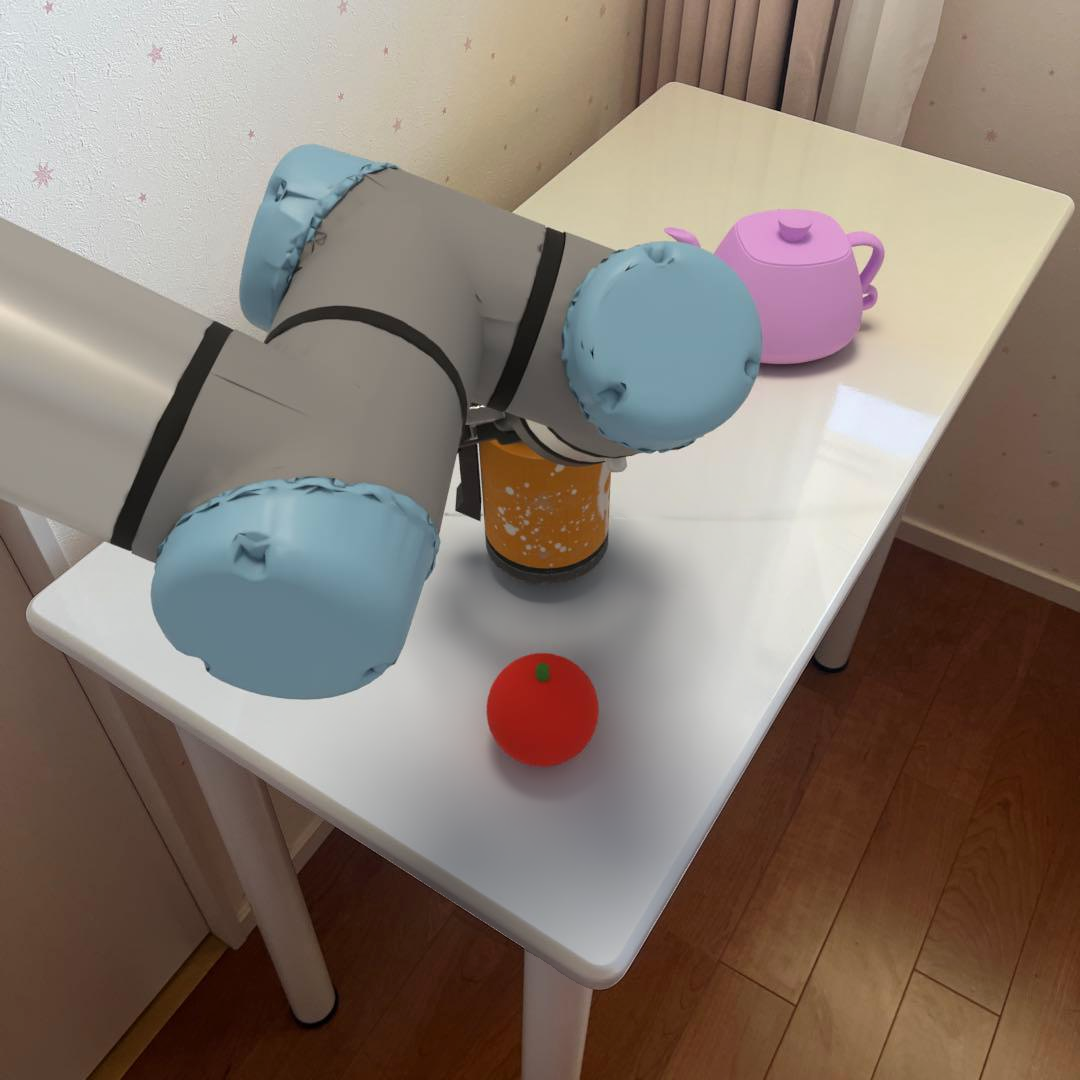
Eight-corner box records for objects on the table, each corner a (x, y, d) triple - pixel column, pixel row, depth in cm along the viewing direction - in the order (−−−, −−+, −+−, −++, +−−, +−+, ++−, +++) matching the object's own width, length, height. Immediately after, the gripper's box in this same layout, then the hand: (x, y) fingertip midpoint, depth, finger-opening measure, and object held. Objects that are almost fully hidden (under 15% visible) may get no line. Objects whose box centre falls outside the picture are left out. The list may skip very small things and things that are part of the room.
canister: (610, 590, 78) (622, 363, 64) (454, 592, 78) (430, 366, 64) (604, 501, 84) (614, 275, 70) (460, 503, 84) (439, 278, 70)
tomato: (485, 786, 69) (479, 713, 63) (491, 694, 74) (487, 618, 68) (597, 789, 69) (602, 716, 63) (596, 696, 74) (600, 620, 68)
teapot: (847, 284, 106) (873, 170, 97) (892, 370, 97) (926, 254, 88) (642, 298, 105) (650, 184, 96) (668, 387, 96) (680, 270, 87)
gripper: (371, 501, 53) (367, 506, 75) (818, 426, 57) (690, 452, 78) (344, 346, 53) (348, 396, 74) (795, 281, 56) (673, 347, 78)
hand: (523, 425), depth 76 cm, fingers closed on canister, 10 cm apart
